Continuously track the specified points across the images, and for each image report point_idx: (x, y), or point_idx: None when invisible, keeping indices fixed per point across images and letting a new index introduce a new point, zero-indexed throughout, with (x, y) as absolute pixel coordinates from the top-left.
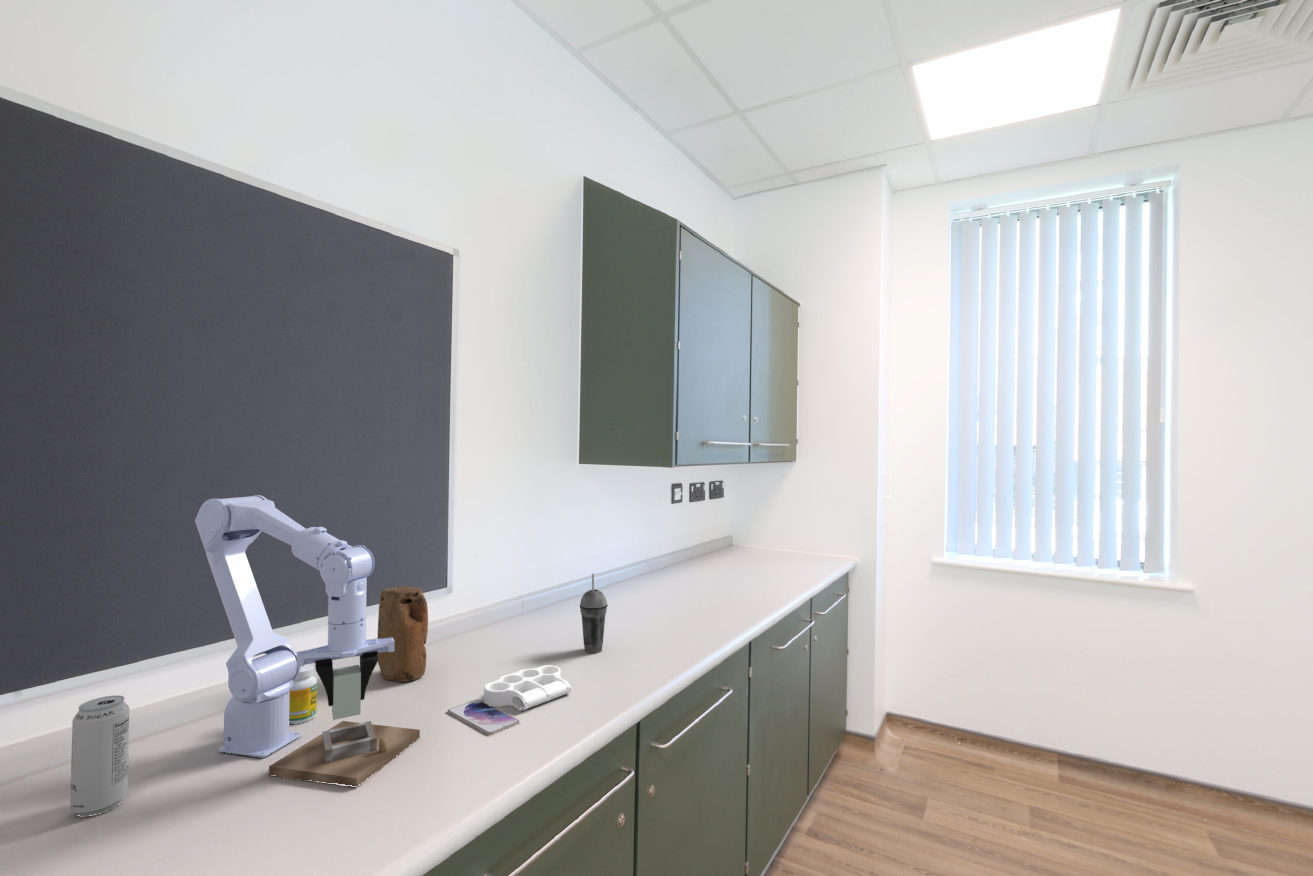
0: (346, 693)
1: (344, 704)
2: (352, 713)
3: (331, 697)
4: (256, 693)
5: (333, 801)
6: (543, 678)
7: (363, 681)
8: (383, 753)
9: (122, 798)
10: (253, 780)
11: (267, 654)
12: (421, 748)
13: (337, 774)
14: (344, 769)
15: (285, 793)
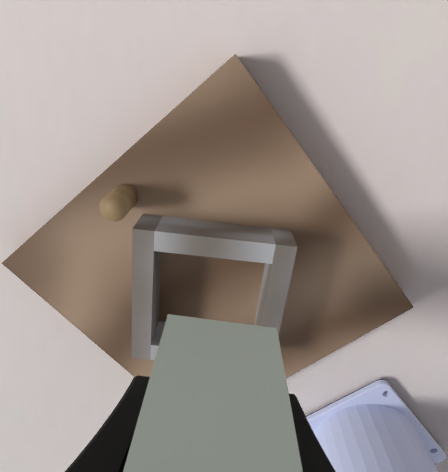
0: (222, 416)
1: (233, 367)
2: (199, 326)
3: (295, 427)
4: None
5: (314, 19)
6: None
7: (107, 466)
8: (126, 177)
9: None
10: (435, 293)
11: None
12: (17, 186)
13: (281, 129)
14: (254, 149)
15: (402, 173)
